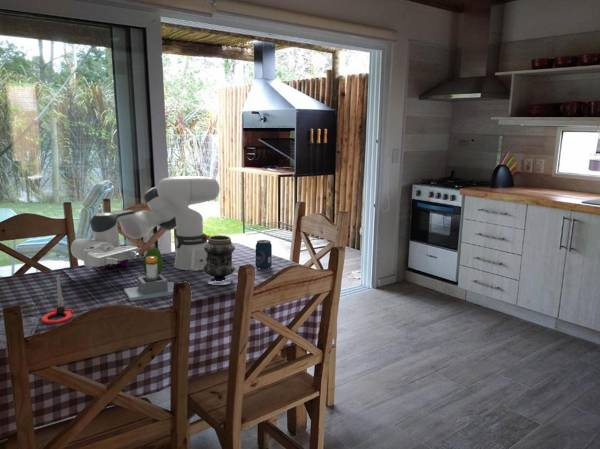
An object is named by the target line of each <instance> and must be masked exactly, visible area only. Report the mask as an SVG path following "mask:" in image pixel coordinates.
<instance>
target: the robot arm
mask: <svg viewBox="0 0 600 449" xmlns="http://www.w3.org/2000/svg"><path fill="white" fill-rule="evenodd" d="M220 189H221V188H220V184H219V182H218V181H217V179H216V178H215V177H211V176H204V175H200V176H199V175H197V176H195V175H194V176H193V175H191V176H186V175H185V176H170V177H169V176H168V177H164V178H162V179H161V180H160V181H159V182H158V184H157V186H154V187H151V188H149V189H148V190H147V191H146V192H145V194H143V195H144V196H143V199H144V202H145V204H147V206H148V208H149V209H148V210H147V209H145V210H139V211H136V212H135V211H134V210H133V209H122V210H115V211H109V212H99V213H96V214H94V215H93V216H92V218H90V221H89V224H90V228H91V231H92V236H93V237H92V238H93V239H90V238H76V239H74V240H73V241H72V242H71V245H70V252H71V254H72V256H73V257H74V258H76V259H78V260H79V261H83V266H84V267H85V268H86V267H87V268H88V267H92V268H101V267H103V266H104V265H108V264H110V265H112V264H113V265H119V264H120V263H119V261H122V260H126V259H128V260H129V259H140V258H141V257H140V256H141V255H140V249H139V247H138V246H133V245H126V246H121V245H122V244H121V239H120V234H119V233H120V232H119V228H118V226H119V225H120V228H121V231H122V233H123V234H124V235H125V236H126V237H128V238H129V239H133V240H134V239H135V240H136V239H141V238H143V237H144V236H146V235H148V234H149V233H150V232H151V231H152V230H153V229H154V228H155V227H157V226H158V227H159V228H158V229H159V230H165V231H171V230H172V231H173V230H176V234H175V239H174V240H175V249H176V251H175V252H176V253H175V260H174V263H173V268H175V269H178V270H182V271H193V272H199V271H198V270H201V271H203V270H202V269H204V266H205V264H206V263H207V252H206V251H205V250H204V246H205V244H206V243H207V242H208V240H209V237H210V236H211V235H209V234H206V233H204V219H203V216H202V214H201V213H200V212H198V211H196V210H194V209H192V208H190V207H189V206H191V205H196V204H202V203H206V202H210V201H215V200H216V199H217V198H218V196H219V194H220ZM118 222H119V225H118Z"/></svg>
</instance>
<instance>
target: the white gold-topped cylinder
mask: <svg viewBox="0 0 600 449" xmlns="http://www.w3.org/2000/svg"><path fill="white" fill-rule="evenodd" d="M146 273H147V275H146V276H147V282H153V281H158V273H157V257H156V256H148V257H146Z"/></svg>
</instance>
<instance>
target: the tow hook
mask: <svg viewBox="0 0 600 449" xmlns="http://www.w3.org/2000/svg"><path fill="white" fill-rule="evenodd" d="M56 287H57V288H56V290H57V291H56V292H57V297H58V298H57V306H56V309H50V311H49V312H47V313H46V314H44V315H43V316H42V317H41V322H42V323H43V324H47V325H55V323H58V324H61V323H65V322H67V321H69V320H71V319H72V318H73V313H74V309H73V308H67V307H66V305H65V304H64V303H65V302H64V298H63V291H62V282H61V276H60V274H59V275H56ZM57 315H63V316H65V317H61V318H59V319H49V318H52V317H54V316H57Z"/></svg>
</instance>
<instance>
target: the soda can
mask: <svg viewBox="0 0 600 449" xmlns="http://www.w3.org/2000/svg"><path fill="white" fill-rule="evenodd" d="M272 251H273V245H272V243H271V240H269V239H259V240H257V241H256V244H255V267H257V268H260V269H268V268H270V267H272V264H273V263H272V260H273V259H272V255H273V254H272ZM257 268H256V269H257ZM270 269H271V268H270Z"/></svg>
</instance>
